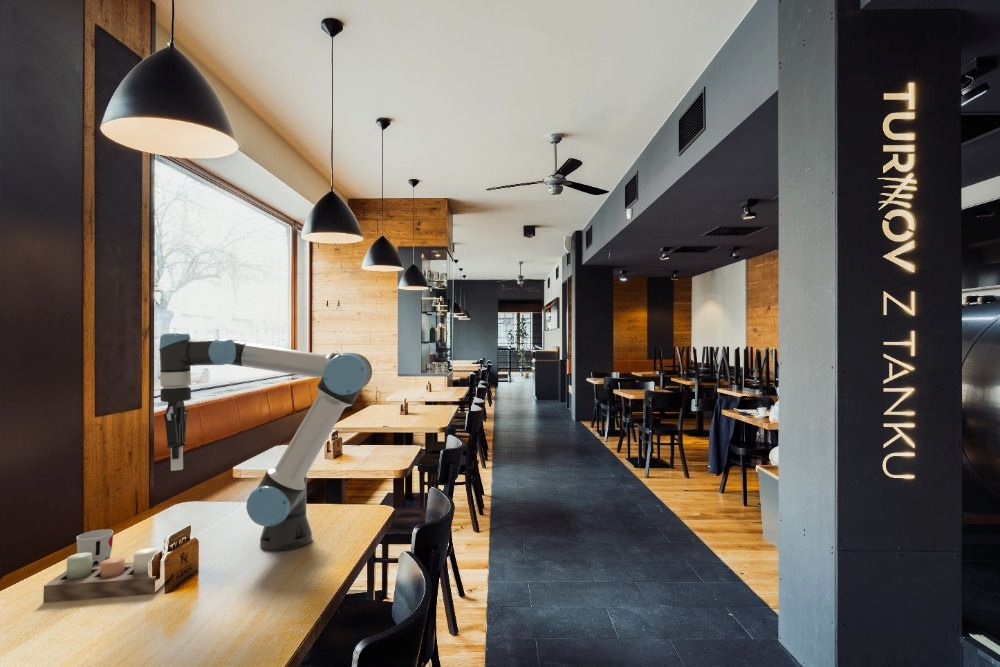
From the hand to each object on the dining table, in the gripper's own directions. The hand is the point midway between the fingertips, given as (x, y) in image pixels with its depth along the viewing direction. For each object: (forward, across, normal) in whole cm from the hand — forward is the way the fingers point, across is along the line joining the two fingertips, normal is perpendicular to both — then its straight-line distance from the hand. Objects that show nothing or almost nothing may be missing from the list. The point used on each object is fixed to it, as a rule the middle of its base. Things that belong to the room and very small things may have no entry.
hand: (177, 469), depth 156 cm
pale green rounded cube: (+22, +14, -18) cm, 32 cm away
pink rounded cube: (+24, +14, -11) cm, 30 cm away
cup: (+26, +1, -20) cm, 33 cm away
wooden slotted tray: (+26, +14, -11) cm, 32 cm away
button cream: (+23, +15, -3) cm, 27 cm away
